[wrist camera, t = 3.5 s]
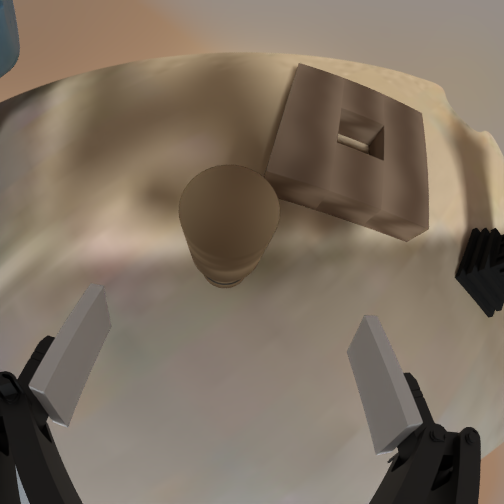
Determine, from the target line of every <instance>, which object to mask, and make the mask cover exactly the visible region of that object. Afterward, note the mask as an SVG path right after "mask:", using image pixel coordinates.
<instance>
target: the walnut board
mask: <svg viewBox="0 0 504 504" xmlns="http://www.w3.org/2000/svg"><path fill="white" fill-rule="evenodd" d="M338 134H341V135H344V136H346V137H349V138H352V139H354V140H357V141H359V142H362V143H364V144H367V145H369V154H366V153H364V152H361V151H358V150H356V149H353V148H351V147H348V146H345V145H343V144H340V143H337V138H338ZM264 178H265V179H266V180H267V181H268V182H269V183H270V185H271V186H272V187H273V189H274V191H275V193H276V195H277V198H279V199H282V200H285V201H289V202H292V203H295V204H298V205H302V206H305V207H308V208H311V209H314V210H317V211H320V212H323V213H326V214H329V215H332V216H335V217H338V218H341V219H344V220H347V221H350V222H353V223H356V224H359V225H362V226H364V227H367V228H370V229H373V230H376V231H378V232H381V233H384V234H387V235H389V236H392V237H395V238H397V239H400V240H403V241H405V242H407V241H409V240H411V239H413V238H414V237H416V236H418V235H420V234H421V233H423V232H425V231H427V230H428V229H429V190H428V169H427V155H426V144H425V134H424V126H423V118H422V113H420V112H418V111H417V110H415V109H413V108H411V107H409V106H407V105H405V104H403V103H401V102H399V101H397V100H394V99H392V98H390V97H388V96H386V95H384V94H381V93H379V92H377V91H375V90H372V89H370V88H368V87H365V86H363V85H360V84H358V83H355V82H353V81H350V80H348V79H345V78H342V77H340V76H337V75H334V74H331V73H328V72H325V71H322V70H319V69H316V68H313V67H310V66H307V65H304V64H300V63H299V64H298V67H297V71H296V74H295V77H294V80H293V83H292V87H291V90H290V93H289V96H288V100H287V103H286V106H285V109H284V113H283V116H282V119H281V123H280V126H279V129H278V132H277V136H276V139H275V142H274V146H273V149H272V152H271V156H270V159H269V162H268V165H267V169H266V172H265V176H264Z"/></svg>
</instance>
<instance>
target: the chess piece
mask: <svg viewBox="0 0 504 504" xmlns="http://www.w3.org/2000/svg"><path fill="white" fill-rule="evenodd" d="M455 278H456V279H457V280H458V282H459V283H460V284H461V285H462V286H463V287H464V288H465V290H466V291H467V292H468V293H469V294H470V295H471V297H472V298H473V299H474V300H475V301H476V303H477V304H478V305H479V306H480V308H481V309H482V310H483V311H484V313H485V314H486V315H487V316H488V317H493V314H494V311H495V310H496V311H501V310H502V306H503V303H504V234H503V235H501V234H500V233H499V232H498V230H497V229H496V228H494V229H492V230H491V233H490V232H489V231H488V230H487V228H484V229H482V231H481V232H480V231H479V230H478V229H477V228H475V229H473V230H472V233H471V236H470V239H469V242H468V245H467V248H466V251H465V253H464V256H463V259H462V261H461V264H460V267H459V269H458V272H457V274H456V277H455Z"/></svg>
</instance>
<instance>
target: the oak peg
mask: <svg viewBox="0 0 504 504" xmlns="http://www.w3.org/2000/svg"><path fill="white" fill-rule="evenodd" d="M279 217H280V206H279V201H278V198H277V195H276V193H275V191H274V189H273V187H272V186H271V185H270V183H269V182H268V181H267V180H266V179H265V178H264V177H262V176H261V175H260V174H258V173H257V172H255V171H253V170H251V169H248V168H245V167H242V166H237V165H221V166H216V167H212V168H210V169H207V170H205V171H203V172H201V173H200V174H198V175H197V176H196V177H195V178H193V179H192V180H191V181H190V183H189V184H188V185H187V187H186V188H185V190H184V192H183V194H182V196H181V199H180V204H179V218H180V222H181V226H182V229H183V232H184V235H185V238H186V241H187V244H188V247H189V250H190V253H191V255H192V258H193V261H194V263H195V265H196V267H197V268H198V269H199V270H200V272H202V273H203V274H204V276H205V278H206V279H207V280H208V281H209V282H210V283H211V284H212V285H214V286H216V287H219V288H231V287H234V286H236V285H237V284H239V283H240V282H241V281H242V280H243V279H244V277H246V276H248V275H249V274H250V273H251V272H252V271H253V270H254V269H255V267H256V266H257V264H258V262H259V260H260V259H261V257H262V255H263V253H264V251H265V249H266V247H267V245H268V244H269V242H270V240H271V238H272V236H273V234H274V232H275V230H276V228H277V226H278V223H279Z"/></svg>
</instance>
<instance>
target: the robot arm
mask: <svg viewBox="0 0 504 504" xmlns="http://www.w3.org/2000/svg"><path fill="white" fill-rule="evenodd" d="M19 52H20V44H19V35H18V28H17V22H16V16H15V10H14V5H13V0H0V77H2V76H3V75H4V74H6V73H7V72H8V71H10V70H11V69H12V68H13V67H14V65H15V64H16V62H17V60H18V57H19ZM110 329H111V321H110V316H109V311H108V306H107V300H106V295H105V289H104V286H103V285H97V284H92V283H91V284H90V285H89V287H88V288H87V290H86V291H85V293H84V294H83V296H82V297H81V298H80V300H79V301H78V303H77V304H76V306H75V307H74V309H73V311H72V312H71V314H70V315H69V317H68V318H67V320H66V321H65V323H64V325H63V326H62V328H61V329H60V331H59V333H58V334H57V336H56V337H51V336H46V337H45V338H44V339H43V340H41V341H40V342H39V344H38V345H37V347H36V349H35V350H34V352H33V354H32V355H31V358H30V359H29V360H28V362H27V364H26V365H25V367H24V369H23V371H22V372H21V374H20V376H19V378H18V380H17V379H16V377H15V376H14V375H13V374H12V373H10V372H7V371H4V372H0V504H21V502H20V496H19V490H18V484H17V476H16V468H17V471H18V474H19V477H20V480H21V482H22V485H23V488H24V490H25V493H26V496H27V498H28V500H29V503H30V504H83V503H82V501H81V499H80V498H79V496H78V494H77V492H76V490H75V488H74V486H73V484H72V482H71V480H70V477H69V475H68V473H67V471H66V469H65V467H64V464H63V462H62V460H61V457H60V455H59V452H58V450H57V447H56V445H55V442H54V440H53V437H52V434H51V431H50V429H49V426H48V424H47V422H46V421H47V418H48V416H49V417H50V418H51V419H52V421H53V422H55V423H57V424H60V425H62V426H65V427H68V426H69V423H70V421H71V418H72V415H73V413H74V410H75V408H76V405H77V403H78V400H79V398H80V395H81V393H82V390H83V388H84V386H85V383H86V381H87V379H88V376H89V374H90V372H91V369H92V367H93V365H94V363H95V360H96V358H97V356H98V354H99V352H100V350H101V347H102V345H103V343H104V341H105V339H106V337H107V335H108V333H109V331H110ZM347 354H348V357H349V360H350V363H351V367H352V370H353V373H354V376H355V380H356V383H357V386H358V390H359V393H360V397H361V400H362V404H363V407H364V411H365V414H366V418H367V422H368V425H369V429H370V433H371V437H372V441H373V444H374V448H375V452H376V455H379V454H385V453H390V452H391V451H393V450H394V449H395V448H396V447H397V448H398V453H397V454H395V455H394V456H393V457H392V458H391V459H389V461H388V463H390V462H391V461H392V463H391V465H390V467H389V469H388V471H387V473H386V475H385V477H384V479H383V481H382V482H381V484H380V486H379V488H378V489H377V491H376V493H375V495H374V496H373V498H372V500H371V501H370V503H369V504H478V497H479V485H480V462H481V443H480V435H479V434H478V432H477V431H476V430H475V429H474V428H472V427H466V428H464V429H463V430H462V431H461V432H460V433H456V432H447V431H446V430H445V429H444V427H442V426H441V425H439V424H436V423H434V421H433V418H432V416H431V413H430V411H429V408H428V406H427V404H426V401H425V399H424V398H423V394H422V392H421V391H420V387H419V385H418V383H417V380H416V379H415V378H414V377H413V376H412V375H411V374H410V373H403V372H402V369H401V367H400V365H399V362H398V360H397V358H396V356H395V353H394V351H393V349H392V347H391V345H390V342H389V340H388V338H387V336H386V334H385V332H384V330H383V327H382V325H381V323H380V321H379V319H378V317H377V316H370V315H364V317H363V319H362V321H361V324H360V326H359V328H358V330H357V332H356V334H355V336H354V338H353V340H352V342H351V344H350V346H349V348H348V350H347ZM15 465H16V468H15Z"/></svg>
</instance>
